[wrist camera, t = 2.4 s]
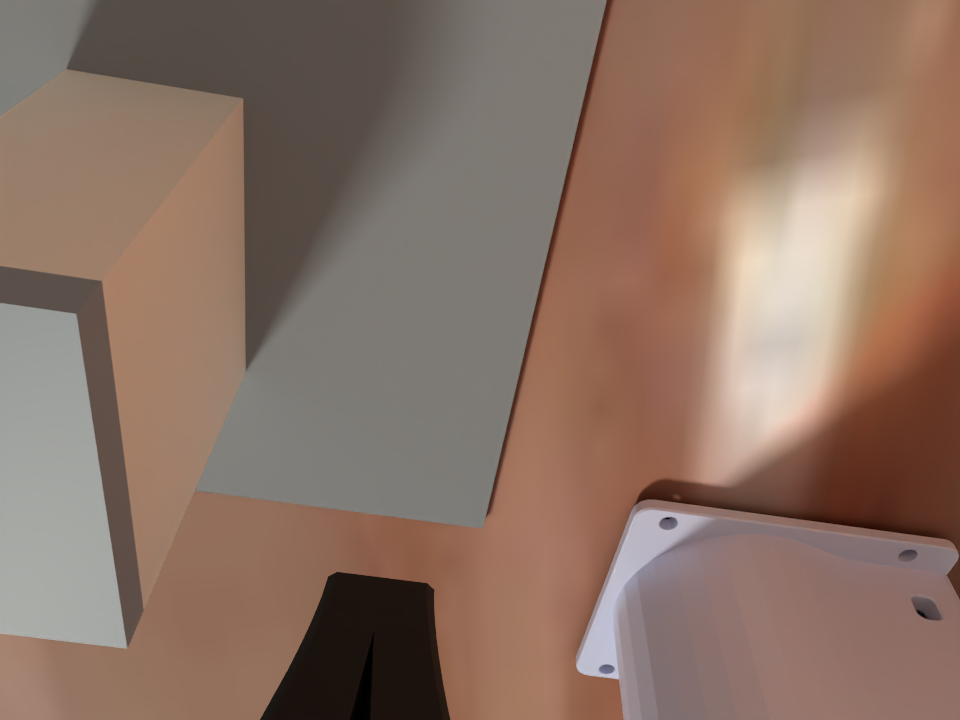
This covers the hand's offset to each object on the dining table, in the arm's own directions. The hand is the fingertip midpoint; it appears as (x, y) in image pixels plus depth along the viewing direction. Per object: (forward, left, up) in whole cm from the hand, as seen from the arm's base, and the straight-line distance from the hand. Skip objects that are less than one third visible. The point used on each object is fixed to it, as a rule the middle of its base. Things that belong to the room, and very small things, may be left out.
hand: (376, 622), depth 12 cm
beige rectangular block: (+6, 0, -9) cm, 11 cm away
